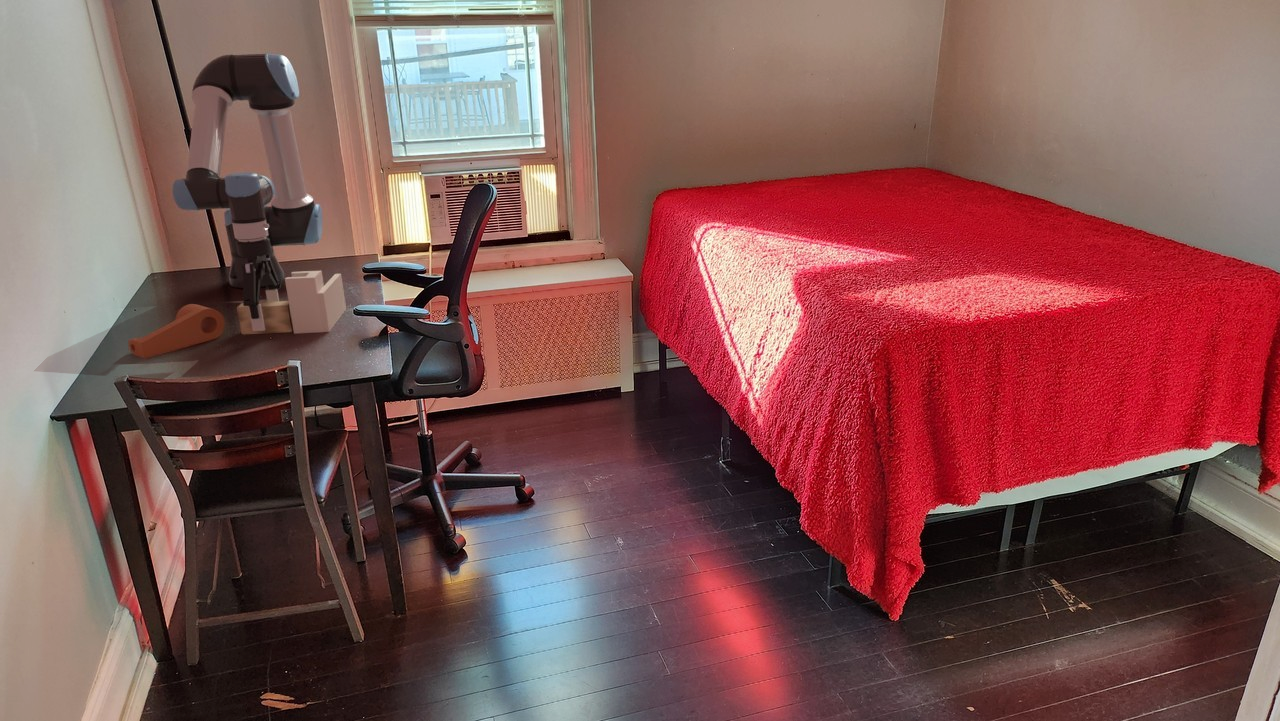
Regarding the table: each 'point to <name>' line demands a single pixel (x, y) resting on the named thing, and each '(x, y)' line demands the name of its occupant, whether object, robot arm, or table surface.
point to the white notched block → (314, 301)
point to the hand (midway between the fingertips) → (267, 322)
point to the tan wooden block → (268, 318)
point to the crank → (181, 332)
